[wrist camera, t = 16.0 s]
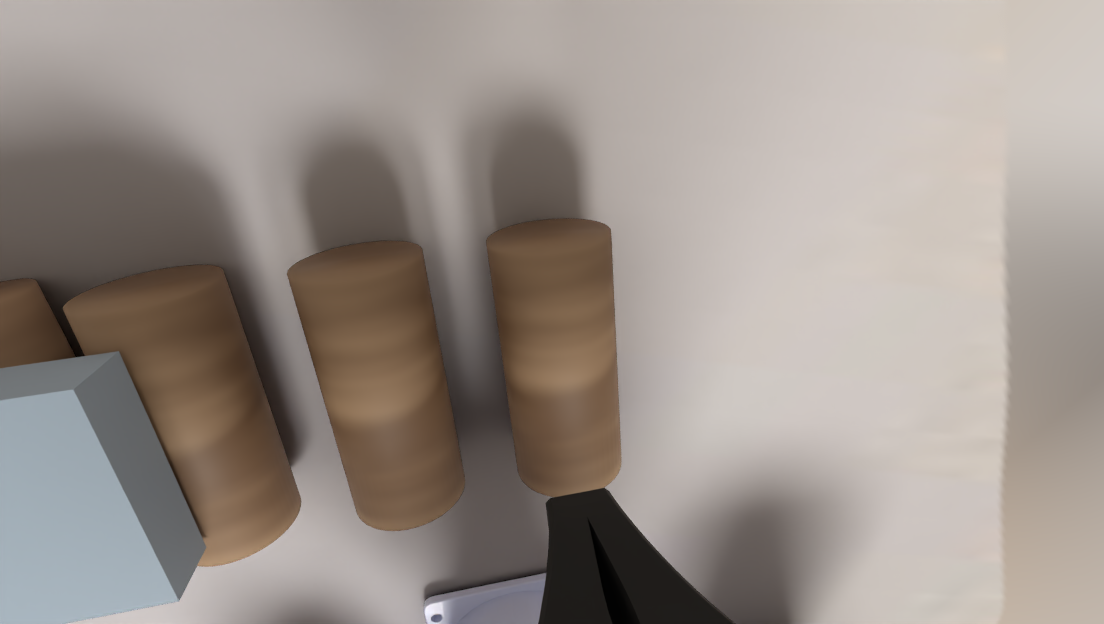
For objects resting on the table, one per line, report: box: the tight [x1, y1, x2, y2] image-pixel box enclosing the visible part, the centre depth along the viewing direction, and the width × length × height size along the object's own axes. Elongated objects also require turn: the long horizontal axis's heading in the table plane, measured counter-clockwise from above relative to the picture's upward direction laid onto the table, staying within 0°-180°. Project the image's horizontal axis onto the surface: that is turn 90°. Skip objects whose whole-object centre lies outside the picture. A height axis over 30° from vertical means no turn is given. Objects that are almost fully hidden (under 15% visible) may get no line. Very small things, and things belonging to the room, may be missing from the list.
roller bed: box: [63, 218, 621, 567], centre depth 18 cm, size 9×28×4 cm, turn 95°
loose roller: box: [0, 278, 76, 368], centre depth 18 cm, size 9×4×4 cm
